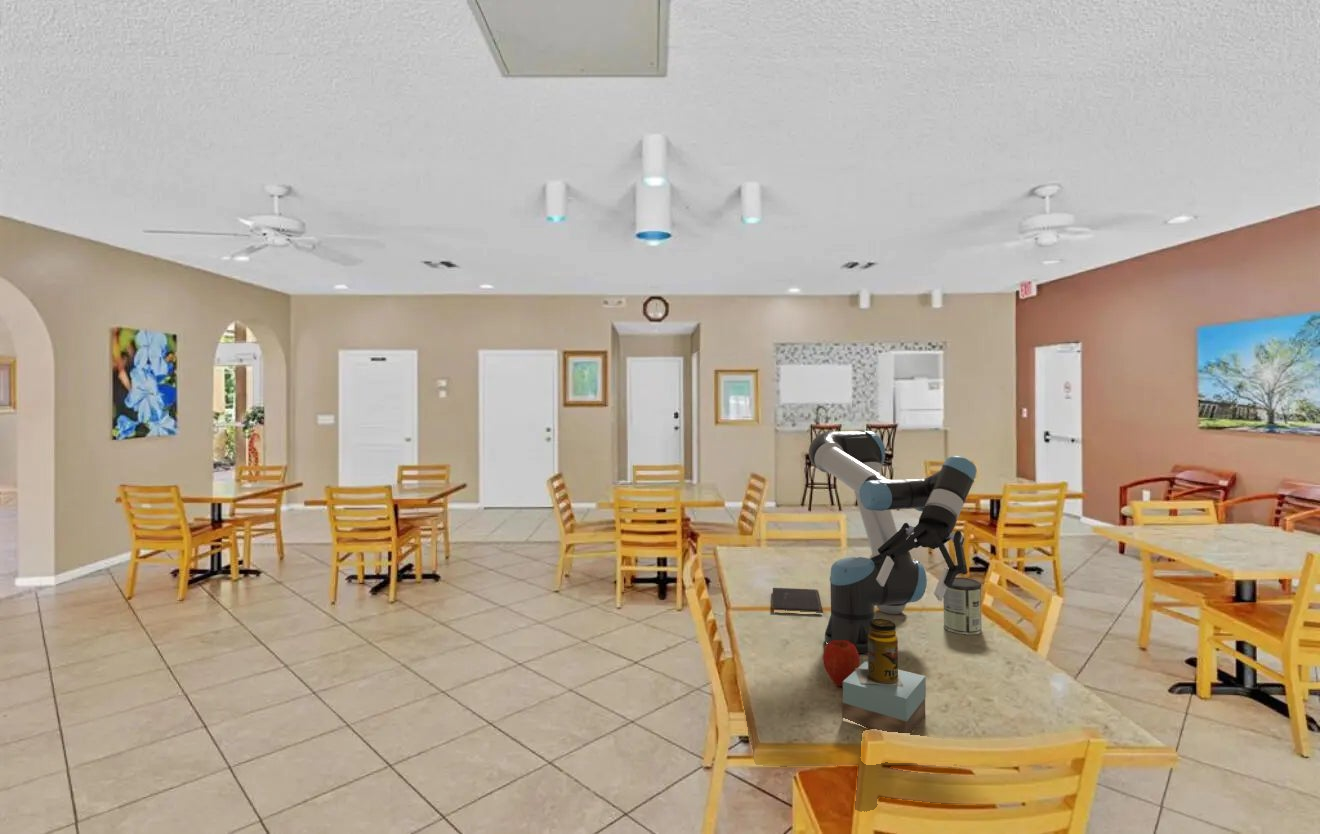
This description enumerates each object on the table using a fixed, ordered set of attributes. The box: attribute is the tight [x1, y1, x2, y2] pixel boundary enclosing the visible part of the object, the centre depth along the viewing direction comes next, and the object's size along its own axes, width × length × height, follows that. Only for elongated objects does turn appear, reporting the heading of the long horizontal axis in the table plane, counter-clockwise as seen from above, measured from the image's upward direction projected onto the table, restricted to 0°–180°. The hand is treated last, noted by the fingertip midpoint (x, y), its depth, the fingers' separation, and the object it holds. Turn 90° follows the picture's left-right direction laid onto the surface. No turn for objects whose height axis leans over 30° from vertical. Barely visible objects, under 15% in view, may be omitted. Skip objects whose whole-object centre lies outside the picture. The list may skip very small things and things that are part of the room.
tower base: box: [841, 698, 926, 734], centre depth 130 cm, size 13×13×4 cm
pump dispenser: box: [876, 604, 907, 615], centre depth 199 cm, size 10×10×15 cm
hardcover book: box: [771, 587, 824, 614], centre depth 209 cm, size 16×23×2 cm
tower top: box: [842, 661, 927, 721], centre depth 130 cm, size 13×13×4 cm
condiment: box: [855, 618, 903, 686], centre depth 131 cm, size 7×8×12 cm
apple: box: [822, 640, 861, 687], centre depth 146 cm, size 9×8×11 cm
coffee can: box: [942, 576, 983, 636], centre depth 182 cm, size 10×10×14 cm
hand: (907, 590), depth 136 cm, fingers open, 13 cm apart
